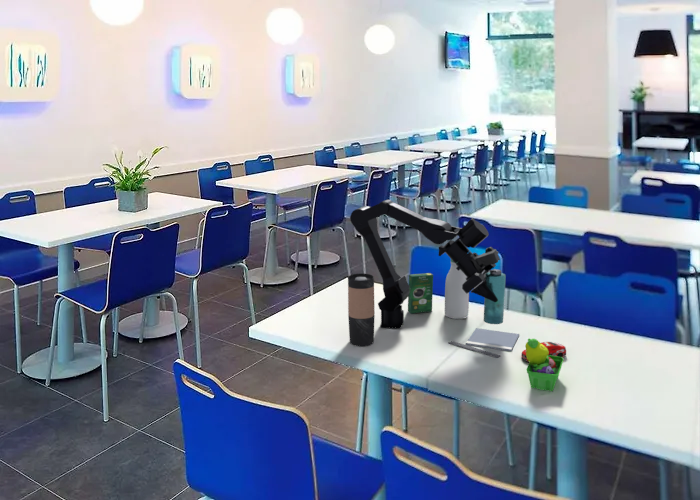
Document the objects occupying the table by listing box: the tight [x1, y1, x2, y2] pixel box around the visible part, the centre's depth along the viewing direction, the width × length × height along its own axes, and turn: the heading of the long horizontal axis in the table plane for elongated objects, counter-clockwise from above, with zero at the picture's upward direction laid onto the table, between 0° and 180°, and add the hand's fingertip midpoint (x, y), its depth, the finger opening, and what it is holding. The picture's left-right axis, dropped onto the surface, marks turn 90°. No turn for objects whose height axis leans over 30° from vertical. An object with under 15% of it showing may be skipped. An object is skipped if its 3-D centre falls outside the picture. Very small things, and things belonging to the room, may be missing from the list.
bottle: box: [483, 268, 506, 325], centre depth 178 cm, size 6×6×15 cm
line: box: [448, 340, 501, 359], centre depth 174 cm, size 16×2×1 cm, turn 47°
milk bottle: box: [444, 259, 470, 320], centre depth 199 cm, size 8×8×20 cm
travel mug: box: [347, 273, 376, 348], centre depth 179 cm, size 8×8×20 cm
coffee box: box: [407, 272, 434, 314], centre depth 204 cm, size 8×3×13 cm, turn 107°
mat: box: [465, 327, 520, 352], centre depth 181 cm, size 13×13×1 cm
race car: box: [520, 341, 567, 363], centre depth 168 cm, size 13×5×4 cm, turn 110°
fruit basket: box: [525, 338, 565, 392], centre depth 153 cm, size 11×9×11 cm
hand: (499, 298), depth 177 cm, fingers closed on bottle, 6 cm apart
